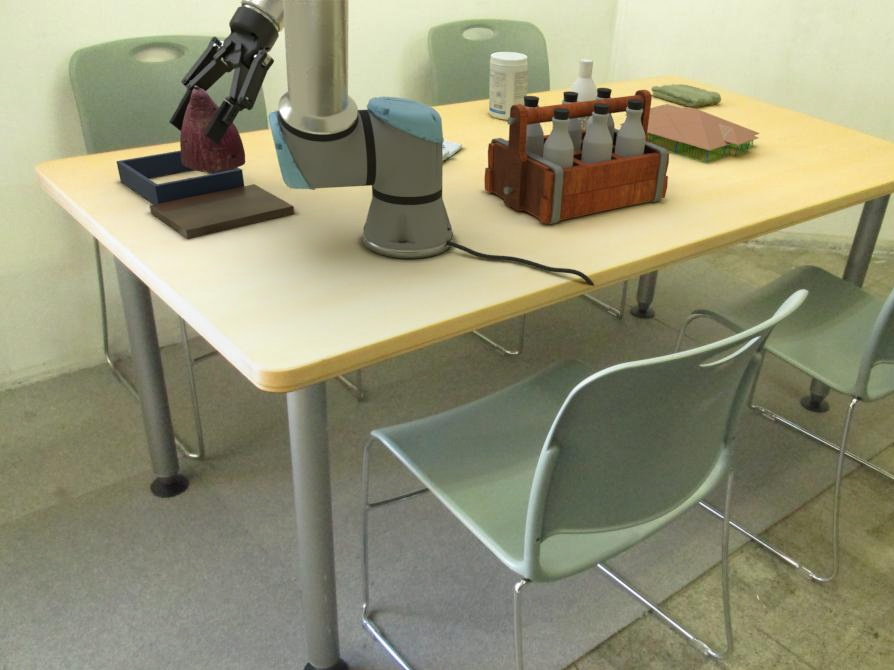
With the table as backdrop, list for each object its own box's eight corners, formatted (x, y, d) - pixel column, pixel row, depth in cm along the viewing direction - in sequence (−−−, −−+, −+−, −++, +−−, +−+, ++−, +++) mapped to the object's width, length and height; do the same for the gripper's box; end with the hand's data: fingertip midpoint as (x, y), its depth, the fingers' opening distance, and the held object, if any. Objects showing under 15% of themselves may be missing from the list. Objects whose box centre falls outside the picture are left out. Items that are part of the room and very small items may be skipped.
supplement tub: (521, 111, 223) (524, 51, 215) (529, 121, 215) (532, 59, 207) (485, 110, 221) (487, 50, 213) (491, 120, 213) (493, 59, 205)
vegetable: (229, 192, 144) (216, 113, 133) (172, 176, 145) (154, 96, 133) (257, 159, 151) (247, 81, 140) (203, 144, 151) (188, 65, 140)
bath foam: (586, 157, 193) (596, 65, 182) (558, 151, 195) (566, 60, 184) (597, 149, 198) (606, 59, 187) (570, 144, 200) (577, 55, 189)
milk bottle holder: (674, 199, 173) (689, 102, 162) (536, 229, 155) (543, 121, 144) (608, 169, 187) (618, 77, 176) (473, 193, 168) (476, 92, 158)
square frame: (244, 190, 161) (242, 169, 159) (159, 208, 151) (154, 186, 149) (203, 166, 171) (200, 146, 169) (120, 181, 161) (116, 161, 159)
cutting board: (294, 213, 153) (293, 205, 152) (187, 238, 141) (186, 230, 140) (255, 191, 161) (254, 183, 160) (151, 213, 149) (149, 205, 148)
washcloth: (677, 90, 254) (679, 79, 252) (722, 104, 243) (725, 93, 241) (647, 95, 247) (648, 83, 245) (692, 110, 236) (694, 98, 234)
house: (717, 167, 193) (724, 131, 188) (604, 133, 210) (607, 99, 206) (766, 149, 208) (773, 115, 203) (656, 118, 225) (660, 86, 221)
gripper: (316, 45, 142) (250, 160, 139) (234, 24, 152) (171, 132, 149) (288, 14, 135) (218, 134, 133) (204, -6, 145) (137, 106, 143)
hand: (193, 133), depth 141 cm, fingers closed on vegetable, 8 cm apart
